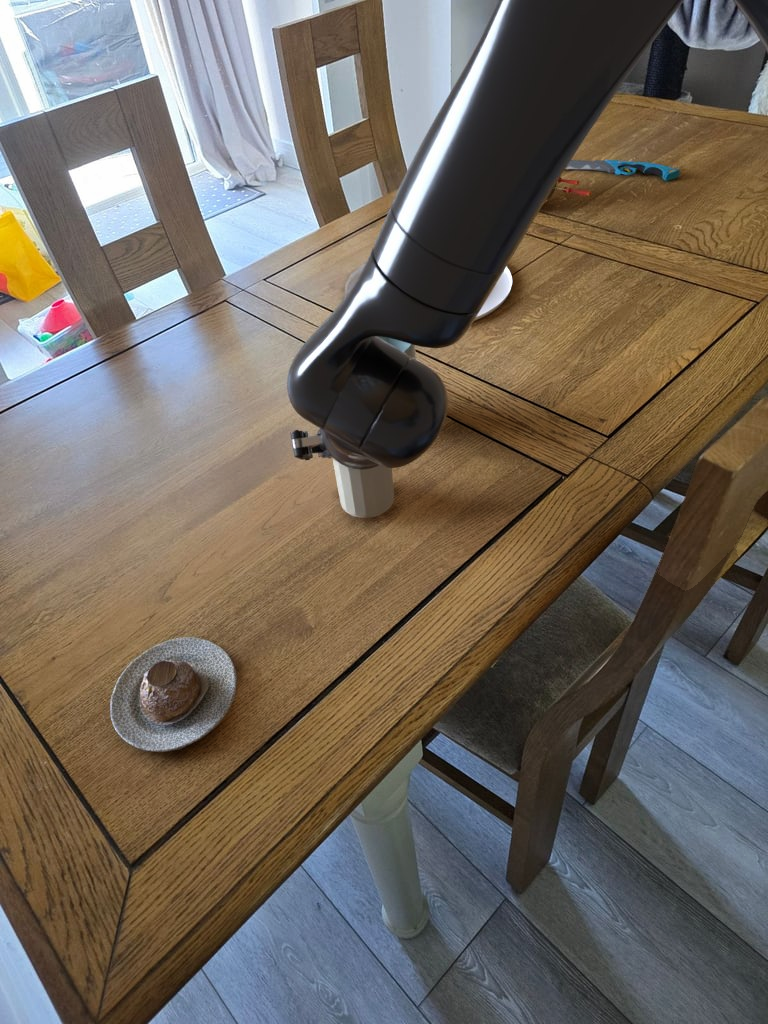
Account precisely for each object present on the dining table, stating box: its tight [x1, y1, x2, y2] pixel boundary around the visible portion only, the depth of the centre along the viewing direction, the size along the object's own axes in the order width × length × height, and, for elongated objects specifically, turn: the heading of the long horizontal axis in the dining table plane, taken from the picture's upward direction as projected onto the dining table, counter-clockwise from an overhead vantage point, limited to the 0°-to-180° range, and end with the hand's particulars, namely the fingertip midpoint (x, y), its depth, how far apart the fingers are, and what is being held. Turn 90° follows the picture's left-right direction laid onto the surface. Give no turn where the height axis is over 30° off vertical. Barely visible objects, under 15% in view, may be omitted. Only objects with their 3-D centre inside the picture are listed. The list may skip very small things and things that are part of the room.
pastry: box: [110, 636, 238, 753], centre depth 65 cm, size 12×12×5 cm
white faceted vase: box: [332, 458, 395, 519], centre depth 77 cm, size 6×6×16 cm
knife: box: [565, 158, 681, 182], centre depth 146 cm, size 37×5×2 cm, turn 62°
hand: (358, 442), depth 79 cm, fingers closed on white faceted vase, 6 cm apart
